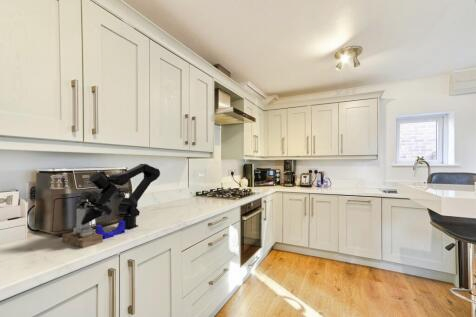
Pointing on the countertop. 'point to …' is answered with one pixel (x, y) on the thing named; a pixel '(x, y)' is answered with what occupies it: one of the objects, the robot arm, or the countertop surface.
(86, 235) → the grey tower on plinth
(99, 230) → the cable clip
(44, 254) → the countertop surface
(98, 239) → the rail
